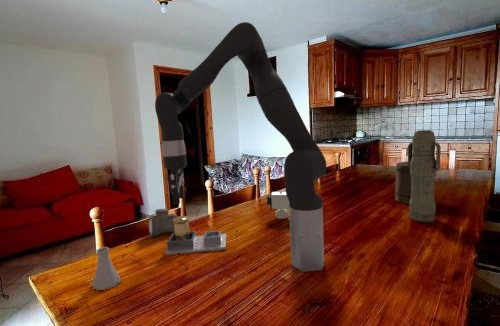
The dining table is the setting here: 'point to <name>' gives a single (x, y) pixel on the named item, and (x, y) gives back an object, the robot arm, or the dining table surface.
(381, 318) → the dining table surface
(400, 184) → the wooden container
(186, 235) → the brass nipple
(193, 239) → the plate
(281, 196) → the pneumatic valve
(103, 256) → the flask
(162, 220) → the pipe fitting
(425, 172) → the thermos
